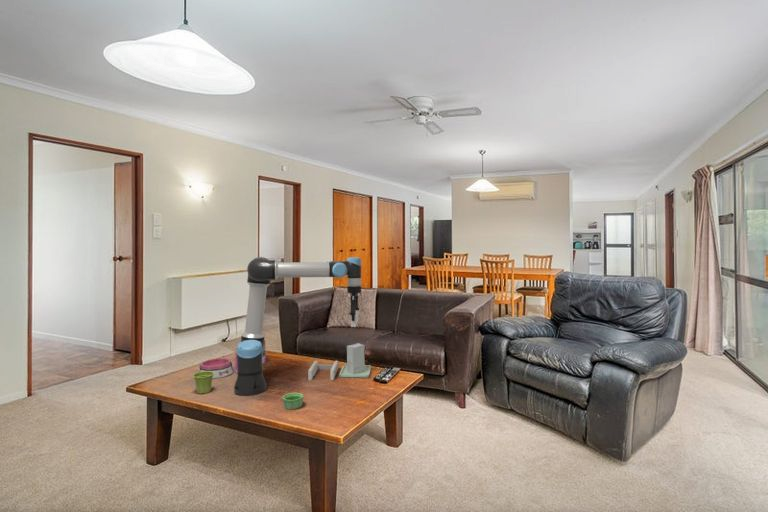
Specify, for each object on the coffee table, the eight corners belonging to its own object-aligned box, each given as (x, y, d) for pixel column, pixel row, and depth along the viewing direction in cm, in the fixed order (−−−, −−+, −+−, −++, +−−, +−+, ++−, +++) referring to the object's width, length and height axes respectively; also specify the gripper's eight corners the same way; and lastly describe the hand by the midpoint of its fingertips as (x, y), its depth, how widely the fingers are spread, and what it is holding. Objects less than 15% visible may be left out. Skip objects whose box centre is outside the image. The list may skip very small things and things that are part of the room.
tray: (369, 378, 222) (369, 375, 222) (338, 378, 222) (338, 375, 222) (370, 367, 240) (370, 365, 240) (343, 367, 240) (343, 365, 240)
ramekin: (298, 400, 192) (297, 391, 191) (306, 406, 184) (306, 396, 184) (279, 405, 186) (279, 395, 186) (287, 411, 179) (287, 401, 179)
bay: (333, 379, 220) (333, 370, 219) (308, 379, 220) (308, 370, 220) (338, 368, 239) (338, 359, 239) (315, 368, 239) (315, 359, 239)
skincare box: (358, 369, 236) (358, 342, 235) (365, 371, 231) (365, 344, 231) (346, 372, 231) (346, 345, 230) (353, 374, 226) (352, 347, 225)
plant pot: (218, 390, 206) (218, 372, 205) (201, 396, 198) (201, 378, 197) (206, 387, 211) (205, 370, 210) (189, 393, 202) (188, 375, 202)
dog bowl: (234, 376, 227) (234, 364, 227) (197, 381, 220) (197, 368, 220) (233, 367, 244) (232, 355, 244) (198, 371, 237) (197, 359, 237)
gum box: (246, 374, 231) (246, 349, 230) (233, 373, 232) (232, 349, 231) (266, 362, 254) (265, 339, 254) (254, 361, 255) (253, 339, 255)
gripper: (359, 288, 217) (359, 328, 218) (362, 283, 242) (363, 320, 243) (344, 288, 217) (345, 328, 218) (349, 283, 242) (350, 320, 243)
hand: (354, 324), depth 230 cm, fingers open, 13 cm apart
